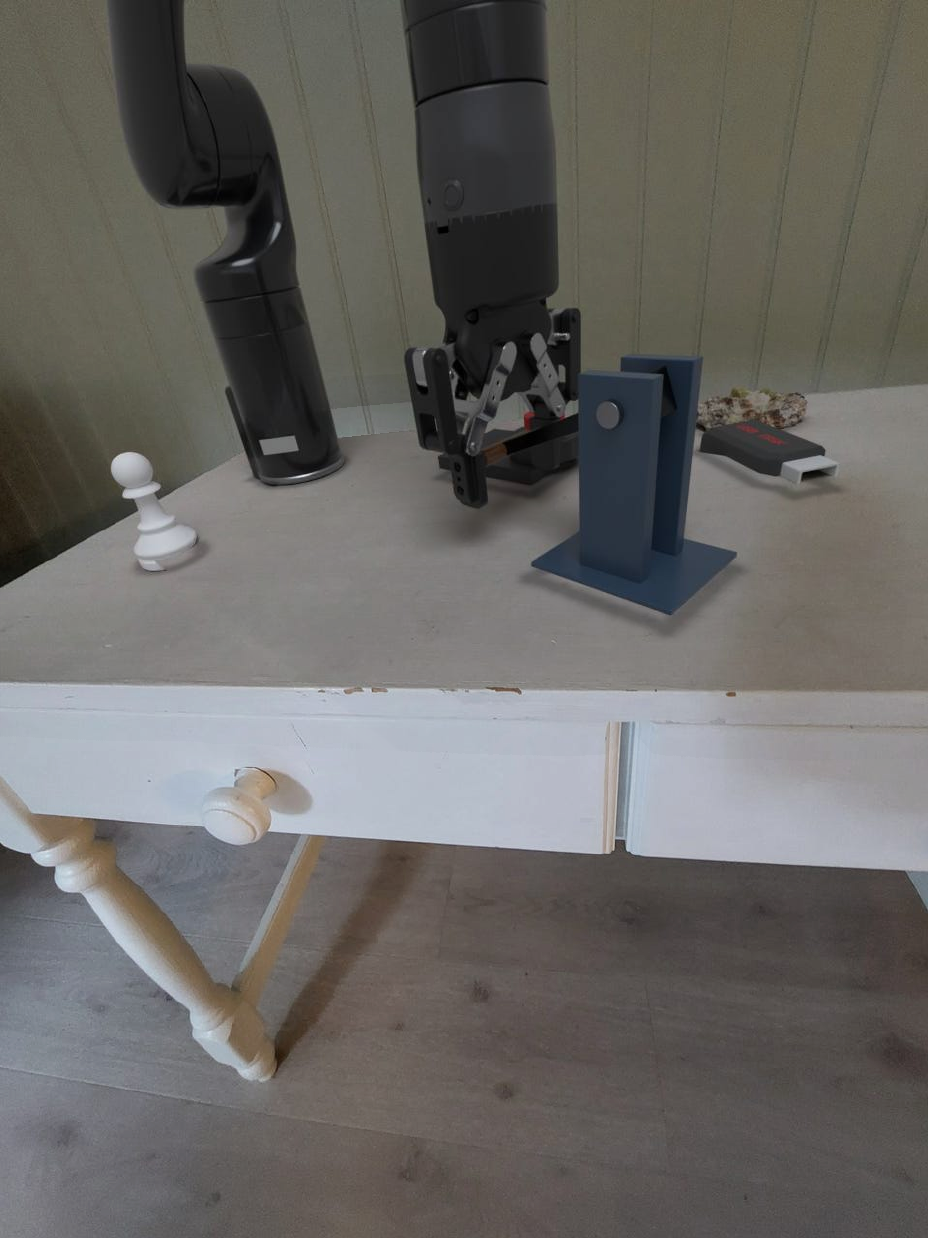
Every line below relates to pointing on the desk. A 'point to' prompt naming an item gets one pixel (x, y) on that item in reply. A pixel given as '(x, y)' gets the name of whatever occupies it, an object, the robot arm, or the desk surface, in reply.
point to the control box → (520, 459)
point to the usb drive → (767, 450)
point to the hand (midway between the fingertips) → (511, 485)
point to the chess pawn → (150, 513)
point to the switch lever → (562, 428)
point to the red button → (529, 414)
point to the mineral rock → (752, 408)
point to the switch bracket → (637, 487)
